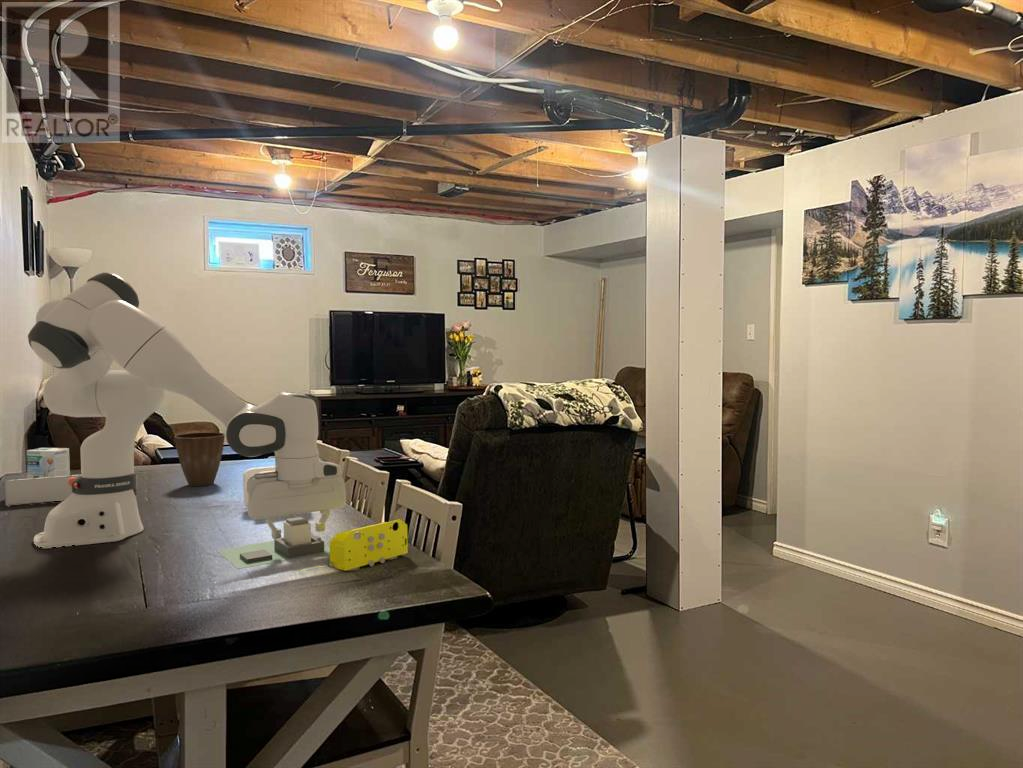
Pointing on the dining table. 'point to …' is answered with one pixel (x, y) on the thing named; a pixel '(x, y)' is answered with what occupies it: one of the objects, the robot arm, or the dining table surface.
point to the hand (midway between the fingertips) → (298, 534)
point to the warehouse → (38, 489)
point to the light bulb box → (48, 462)
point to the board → (272, 552)
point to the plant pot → (200, 456)
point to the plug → (297, 531)
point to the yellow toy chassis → (368, 545)
